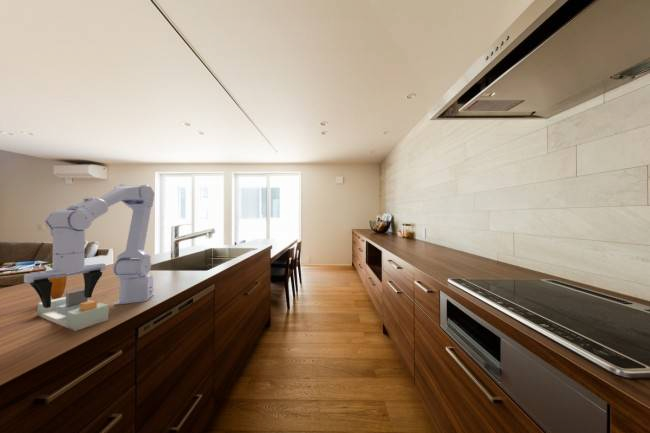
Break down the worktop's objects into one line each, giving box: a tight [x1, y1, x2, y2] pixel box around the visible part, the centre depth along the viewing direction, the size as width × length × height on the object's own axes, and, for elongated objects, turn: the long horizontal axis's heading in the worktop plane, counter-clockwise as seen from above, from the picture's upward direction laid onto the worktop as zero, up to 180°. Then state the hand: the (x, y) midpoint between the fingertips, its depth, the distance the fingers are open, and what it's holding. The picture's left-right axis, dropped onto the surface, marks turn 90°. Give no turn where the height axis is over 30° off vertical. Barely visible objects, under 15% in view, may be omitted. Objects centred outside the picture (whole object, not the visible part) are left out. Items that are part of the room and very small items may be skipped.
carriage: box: [58, 288, 91, 316], centre depth 66 cm, size 6×6×6 cm
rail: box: [37, 296, 110, 332], centre depth 67 cm, size 25×7×4 cm, turn 68°
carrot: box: [46, 262, 68, 300], centre depth 81 cm, size 5×5×15 cm
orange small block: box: [80, 299, 98, 311], centre depth 63 cm, size 3×3×4 cm
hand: (68, 301), depth 60 cm, fingers open, 7 cm apart
